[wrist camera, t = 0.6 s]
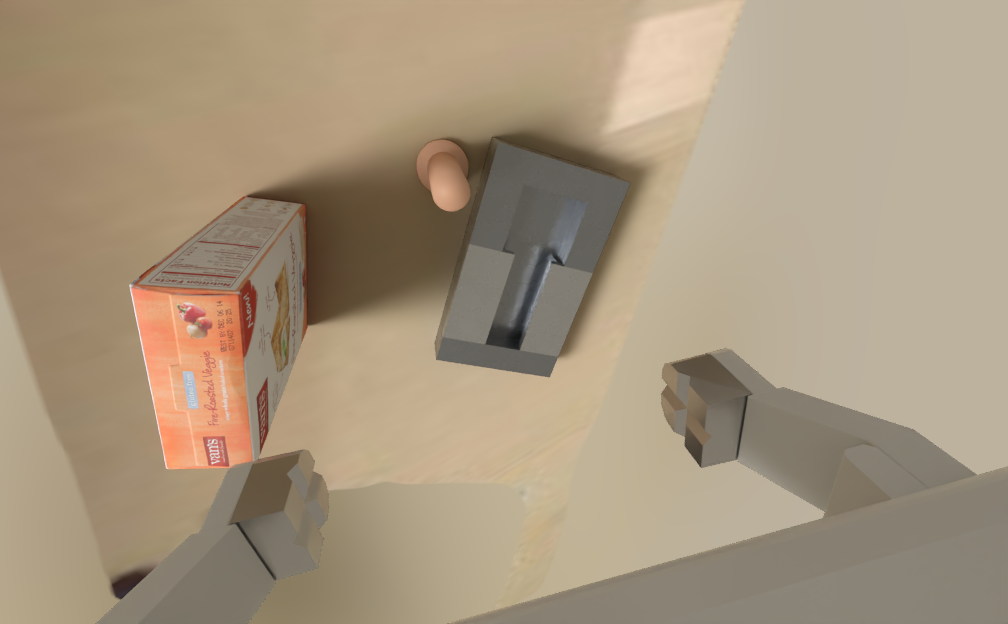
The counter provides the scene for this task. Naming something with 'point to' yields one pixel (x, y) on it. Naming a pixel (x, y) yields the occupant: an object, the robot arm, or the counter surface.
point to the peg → (444, 173)
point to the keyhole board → (526, 259)
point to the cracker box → (224, 331)
